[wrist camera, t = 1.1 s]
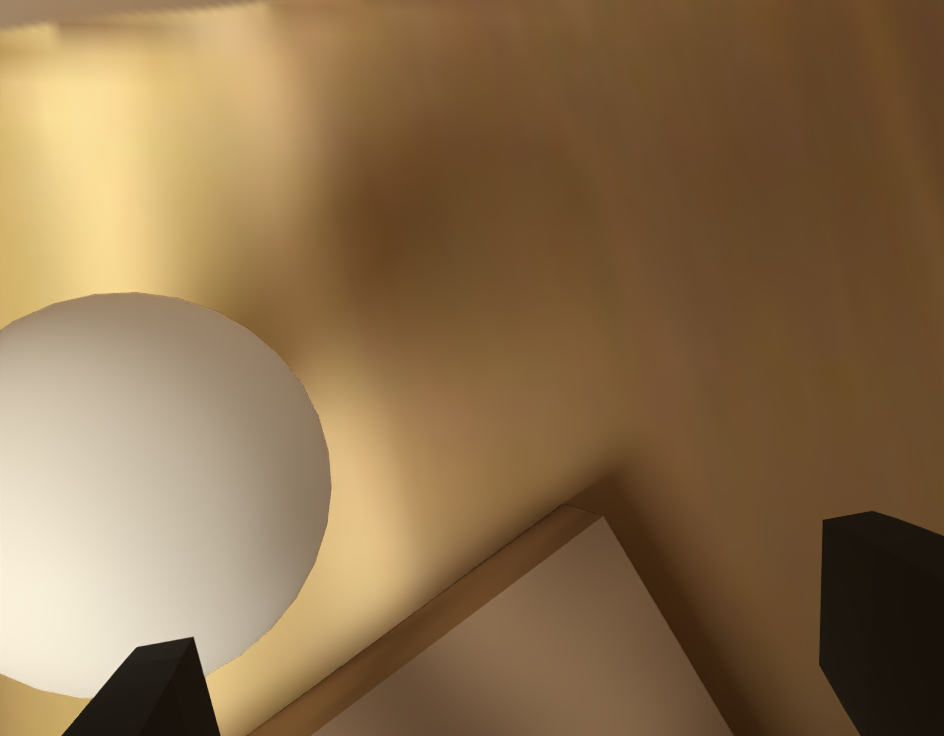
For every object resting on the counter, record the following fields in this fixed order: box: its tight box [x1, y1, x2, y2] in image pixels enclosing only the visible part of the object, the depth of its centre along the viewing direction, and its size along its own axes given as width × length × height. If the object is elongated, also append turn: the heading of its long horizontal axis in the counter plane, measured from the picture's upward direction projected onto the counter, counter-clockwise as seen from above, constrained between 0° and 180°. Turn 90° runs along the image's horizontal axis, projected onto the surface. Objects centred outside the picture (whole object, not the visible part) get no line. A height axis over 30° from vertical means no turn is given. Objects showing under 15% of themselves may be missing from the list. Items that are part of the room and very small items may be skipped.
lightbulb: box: [0, 292, 331, 698], centre depth 16 cm, size 6×6×11 cm
